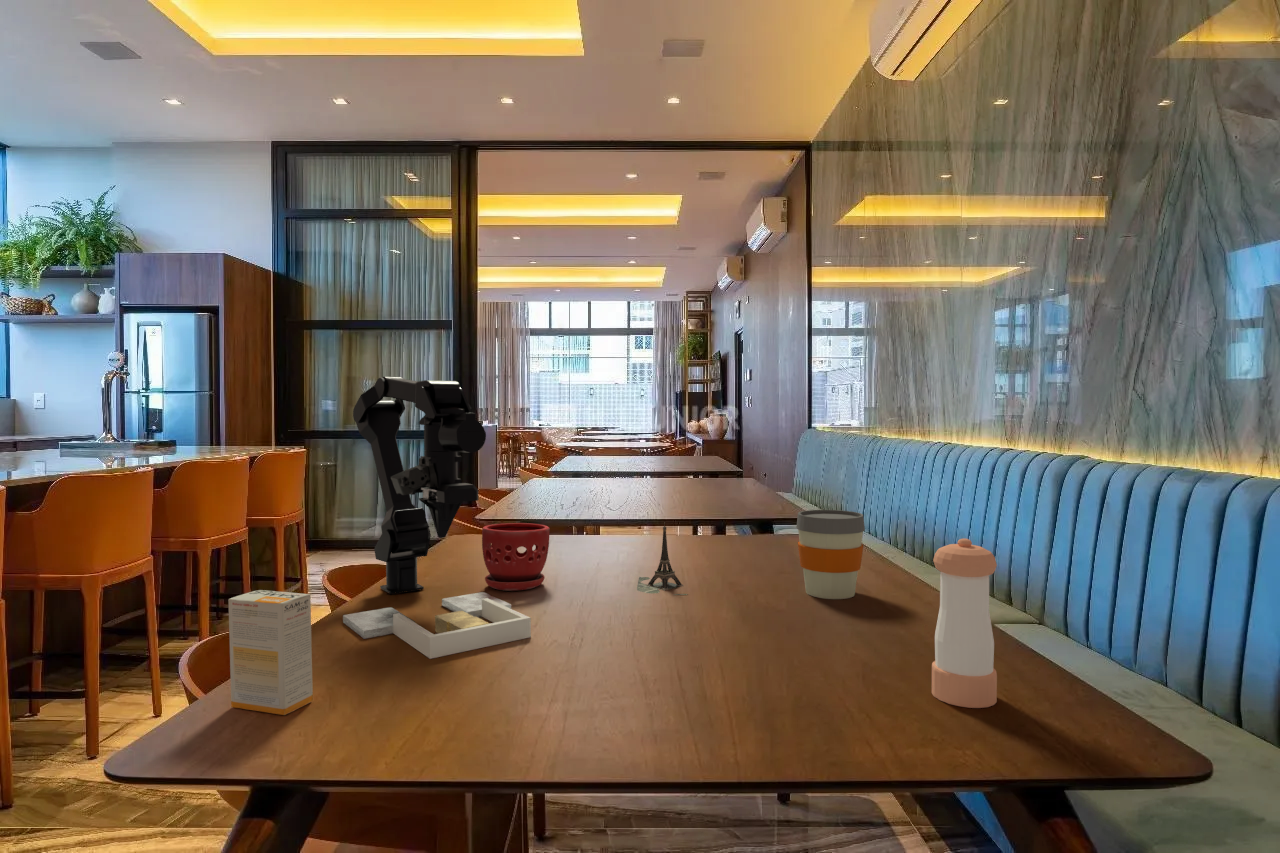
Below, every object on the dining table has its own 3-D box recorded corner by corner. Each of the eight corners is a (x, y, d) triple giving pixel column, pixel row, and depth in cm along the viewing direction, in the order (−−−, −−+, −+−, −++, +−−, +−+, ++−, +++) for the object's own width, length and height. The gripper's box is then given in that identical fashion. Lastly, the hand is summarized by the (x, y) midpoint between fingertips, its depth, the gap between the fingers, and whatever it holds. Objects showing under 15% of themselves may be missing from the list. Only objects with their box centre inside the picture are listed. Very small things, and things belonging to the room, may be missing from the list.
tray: (393, 633, 116) (393, 614, 116) (487, 615, 126) (487, 598, 126) (430, 658, 104) (429, 637, 104) (530, 637, 114) (530, 617, 114)
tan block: (435, 633, 117) (435, 615, 117) (462, 627, 120) (461, 610, 120) (447, 640, 113) (446, 621, 113) (474, 634, 116) (474, 616, 116)
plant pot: (544, 594, 140) (544, 531, 140) (475, 594, 141) (475, 531, 140) (553, 578, 153) (553, 520, 153) (490, 578, 154) (489, 520, 153)
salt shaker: (992, 713, 85) (994, 546, 85) (925, 700, 89) (926, 540, 88) (1000, 692, 91) (1001, 537, 91) (937, 681, 95) (938, 532, 95)
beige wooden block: (448, 639, 114) (448, 621, 113) (476, 634, 116) (475, 616, 116) (461, 647, 110) (460, 628, 110) (488, 641, 113) (488, 622, 113)
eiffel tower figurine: (638, 579, 155) (637, 515, 154) (686, 579, 154) (686, 515, 154) (635, 597, 140) (635, 527, 139) (689, 598, 139) (689, 527, 139)
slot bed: (343, 622, 122) (343, 615, 122) (483, 598, 137) (483, 591, 137) (364, 638, 113) (363, 630, 113) (511, 611, 128) (511, 604, 128)
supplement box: (315, 701, 89) (313, 593, 89) (283, 717, 85) (282, 603, 84) (261, 693, 92) (260, 587, 91) (228, 707, 87) (226, 597, 87)
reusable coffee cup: (872, 590, 142) (873, 512, 142) (853, 605, 132) (853, 520, 131) (809, 582, 149) (809, 507, 149) (786, 595, 138) (786, 515, 138)
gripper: (378, 450, 135) (379, 535, 136) (415, 454, 120) (417, 550, 121) (437, 447, 142) (437, 529, 142) (479, 452, 127) (480, 542, 128)
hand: (441, 537), depth 133 cm, fingers closed
